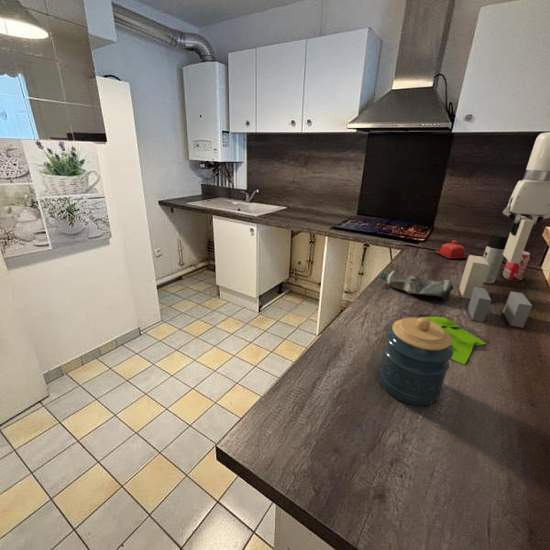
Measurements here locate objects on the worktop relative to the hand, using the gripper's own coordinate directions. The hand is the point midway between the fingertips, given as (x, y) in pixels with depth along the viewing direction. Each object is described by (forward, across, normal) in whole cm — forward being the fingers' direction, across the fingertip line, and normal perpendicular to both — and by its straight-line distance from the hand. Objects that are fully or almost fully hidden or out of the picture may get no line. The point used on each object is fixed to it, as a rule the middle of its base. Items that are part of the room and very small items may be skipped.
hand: (518, 234), depth 96 cm
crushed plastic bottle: (+25, +28, +5) cm, 38 cm away
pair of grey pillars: (+25, +4, +15) cm, 29 cm away
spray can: (+25, 0, -20) cm, 32 cm away
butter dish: (+25, +9, -50) cm, 57 cm away
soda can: (+25, -12, -28) cm, 39 cm away
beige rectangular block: (+25, +8, -2) cm, 26 cm away
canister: (+25, +29, +59) cm, 70 cm away
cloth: (+25, +20, +35) cm, 47 cm away
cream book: (+9, 0, 0) cm, 9 cm away
